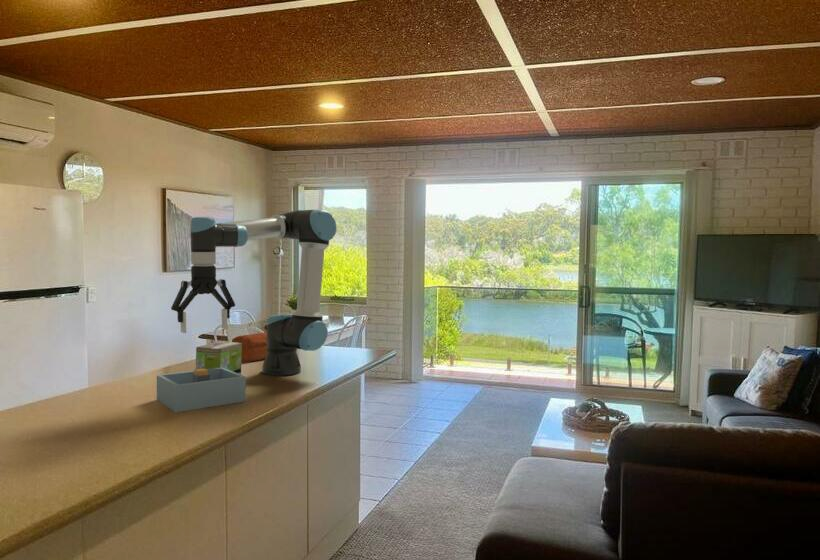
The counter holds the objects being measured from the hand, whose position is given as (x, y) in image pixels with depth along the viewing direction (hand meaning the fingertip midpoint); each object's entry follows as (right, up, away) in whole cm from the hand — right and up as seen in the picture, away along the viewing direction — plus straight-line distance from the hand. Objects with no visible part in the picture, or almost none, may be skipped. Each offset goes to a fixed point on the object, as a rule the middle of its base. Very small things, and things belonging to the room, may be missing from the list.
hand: (204, 330), depth 192 cm
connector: (0, -22, -2) cm, 22 cm away
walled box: (0, -22, -2) cm, 22 cm away
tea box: (-2, -22, +20) cm, 29 cm away
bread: (-1, -19, +76) cm, 79 cm away
